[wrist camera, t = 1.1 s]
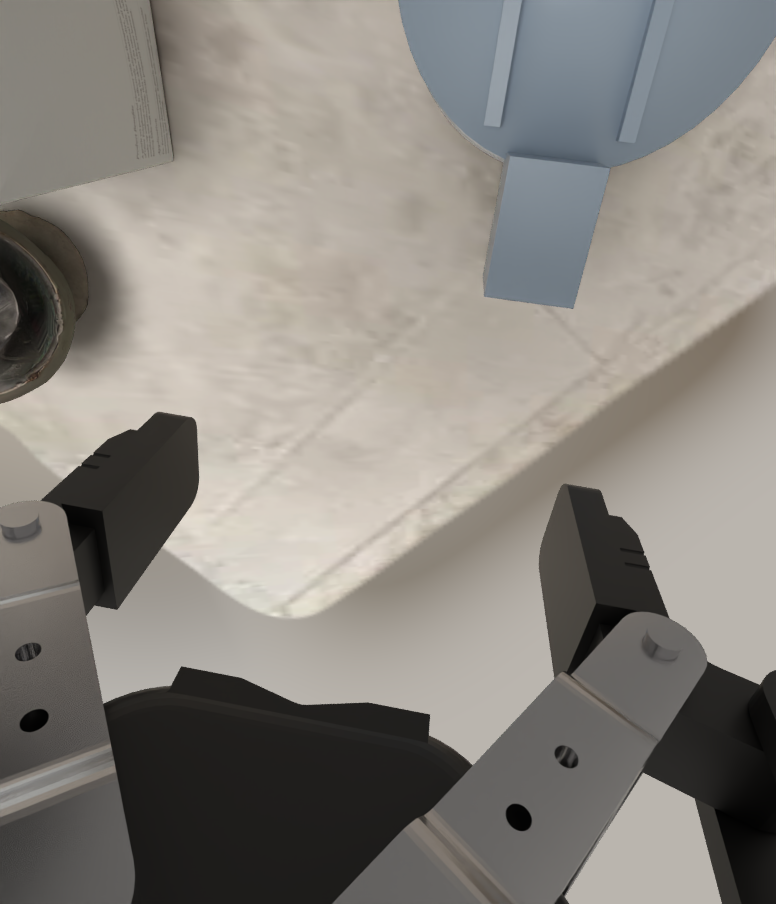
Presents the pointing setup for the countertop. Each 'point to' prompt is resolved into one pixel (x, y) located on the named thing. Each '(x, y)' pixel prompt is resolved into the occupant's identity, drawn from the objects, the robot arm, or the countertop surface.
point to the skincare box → (78, 94)
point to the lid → (574, 106)
